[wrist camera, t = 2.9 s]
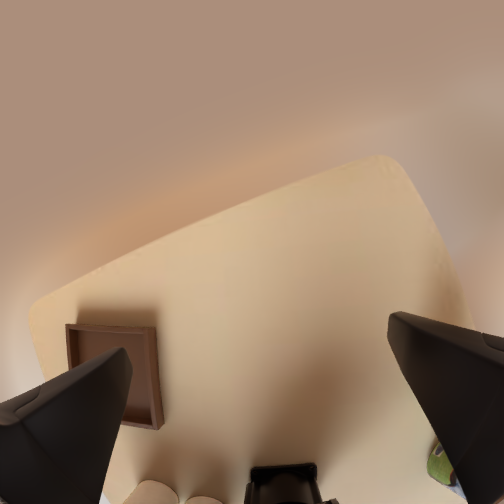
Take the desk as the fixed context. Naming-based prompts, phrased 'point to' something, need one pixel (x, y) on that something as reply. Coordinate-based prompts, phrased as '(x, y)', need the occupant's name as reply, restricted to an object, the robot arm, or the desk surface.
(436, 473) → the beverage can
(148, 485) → the white bottle
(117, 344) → the tray
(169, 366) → the desk surface
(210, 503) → the white bottle
